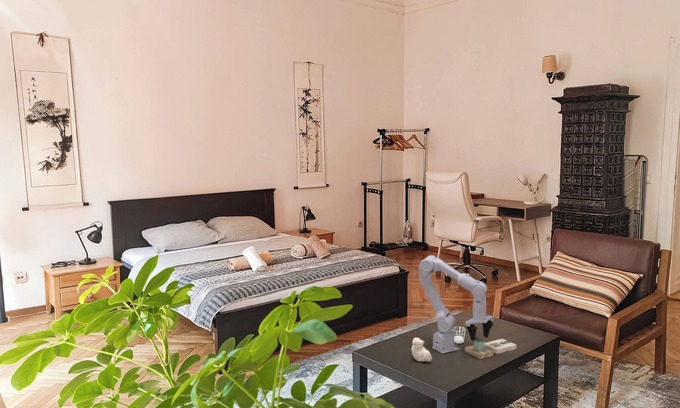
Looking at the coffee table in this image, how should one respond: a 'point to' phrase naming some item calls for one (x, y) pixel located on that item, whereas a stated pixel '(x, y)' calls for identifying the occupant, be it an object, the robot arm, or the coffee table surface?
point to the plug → (479, 344)
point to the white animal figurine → (420, 351)
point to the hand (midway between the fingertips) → (479, 338)
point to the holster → (477, 354)
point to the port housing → (500, 346)
